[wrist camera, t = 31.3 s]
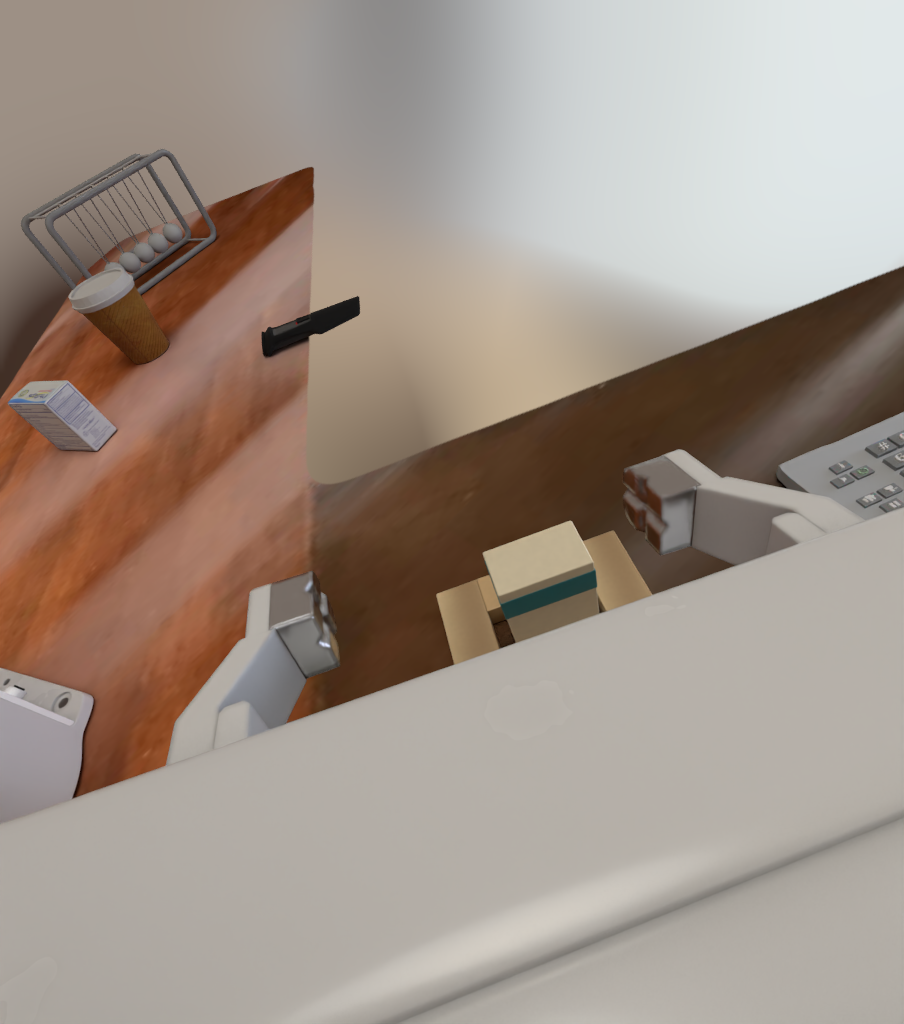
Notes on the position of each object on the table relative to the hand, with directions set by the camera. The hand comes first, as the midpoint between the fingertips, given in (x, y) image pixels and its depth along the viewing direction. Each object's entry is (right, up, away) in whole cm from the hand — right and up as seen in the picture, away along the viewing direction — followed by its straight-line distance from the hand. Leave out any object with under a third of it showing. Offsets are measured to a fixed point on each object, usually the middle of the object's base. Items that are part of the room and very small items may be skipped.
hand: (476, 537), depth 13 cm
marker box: (+7, -8, +24) cm, 26 cm away
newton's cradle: (-63, +51, +99) cm, 128 cm away
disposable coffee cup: (-50, +27, +73) cm, 92 cm away
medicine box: (-51, +10, +60) cm, 79 cm away
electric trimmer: (-20, +26, +62) cm, 70 cm away
